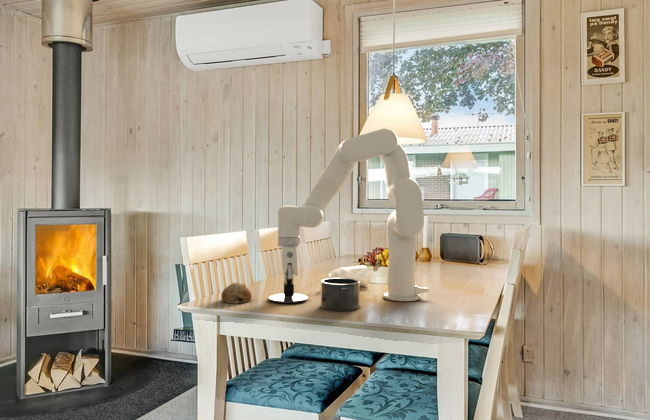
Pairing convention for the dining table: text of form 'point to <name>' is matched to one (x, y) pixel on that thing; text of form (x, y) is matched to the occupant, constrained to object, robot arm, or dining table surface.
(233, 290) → the brown rounded lump
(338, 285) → the pan
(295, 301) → the pan lid
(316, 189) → the robot arm
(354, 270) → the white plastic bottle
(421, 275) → the dining table surface
